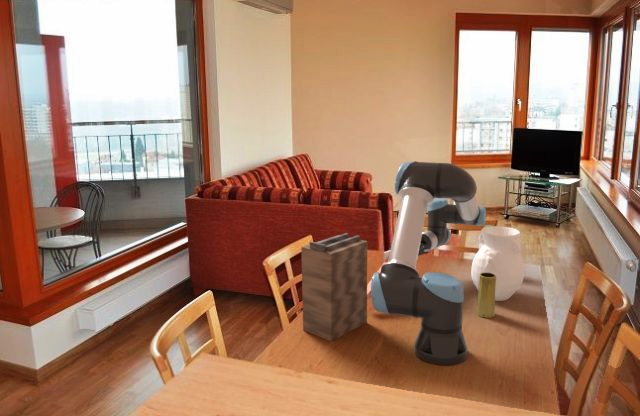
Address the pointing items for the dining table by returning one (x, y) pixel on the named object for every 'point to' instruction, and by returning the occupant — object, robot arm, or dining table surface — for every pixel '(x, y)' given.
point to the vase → (486, 295)
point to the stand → (334, 286)
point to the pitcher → (499, 260)
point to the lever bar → (371, 281)
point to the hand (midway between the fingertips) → (388, 257)
